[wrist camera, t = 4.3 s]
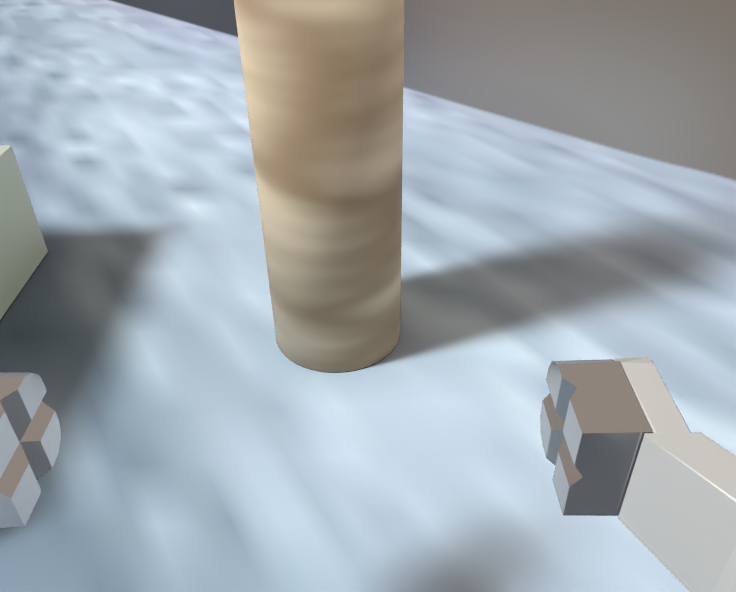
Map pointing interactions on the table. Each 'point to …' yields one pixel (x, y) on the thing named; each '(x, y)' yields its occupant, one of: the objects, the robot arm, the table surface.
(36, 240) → the bin
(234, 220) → the table surface
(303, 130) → the pepper mill
